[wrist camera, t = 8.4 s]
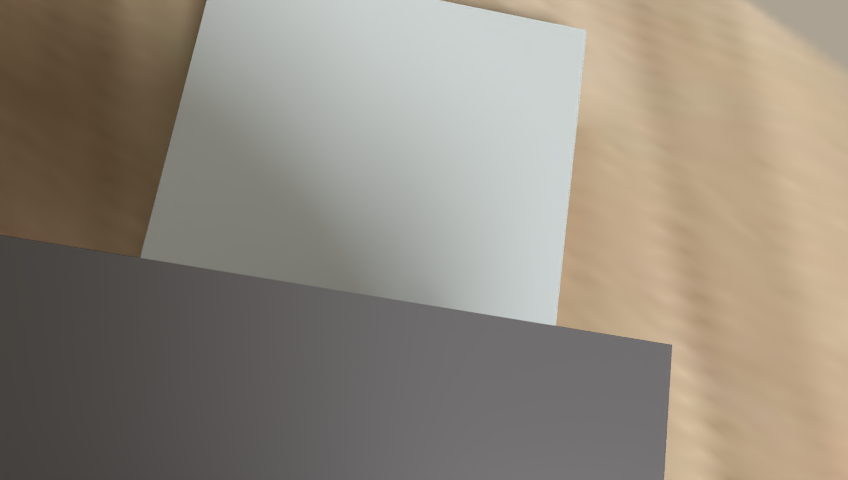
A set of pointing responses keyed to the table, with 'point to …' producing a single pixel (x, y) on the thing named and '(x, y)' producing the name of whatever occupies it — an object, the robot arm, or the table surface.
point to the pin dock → (376, 151)
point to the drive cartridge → (302, 382)
